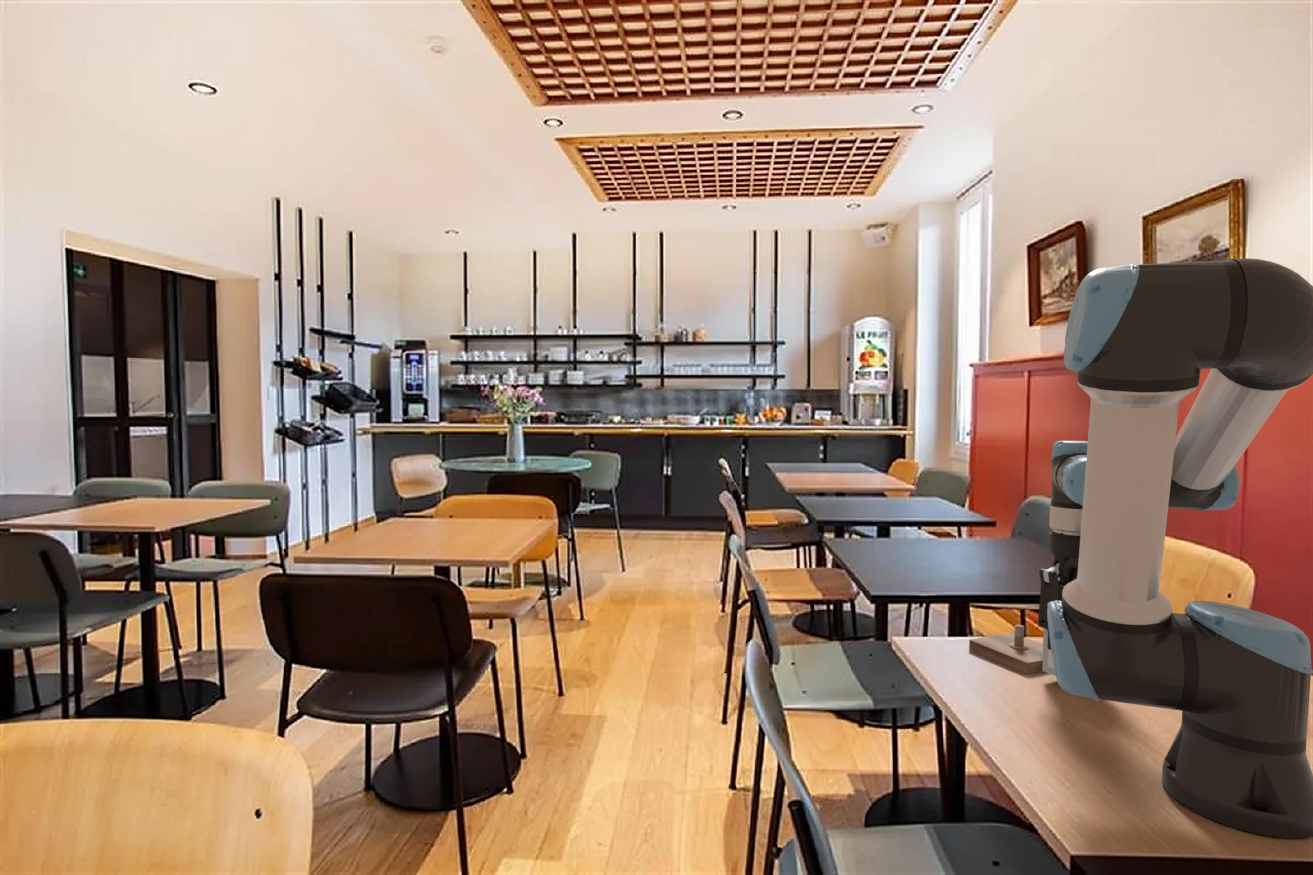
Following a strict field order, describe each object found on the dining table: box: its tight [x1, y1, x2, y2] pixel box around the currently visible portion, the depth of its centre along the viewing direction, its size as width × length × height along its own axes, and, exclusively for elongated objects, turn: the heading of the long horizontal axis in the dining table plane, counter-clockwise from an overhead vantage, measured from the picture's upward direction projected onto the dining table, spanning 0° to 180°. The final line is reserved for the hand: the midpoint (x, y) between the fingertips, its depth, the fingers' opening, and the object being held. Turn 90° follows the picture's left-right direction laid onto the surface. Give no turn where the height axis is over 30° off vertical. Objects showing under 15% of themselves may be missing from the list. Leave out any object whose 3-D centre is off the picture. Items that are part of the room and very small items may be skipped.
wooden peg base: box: [968, 624, 1043, 675], centre depth 134 cm, size 11×13×6 cm
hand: (1070, 666), depth 122 cm, fingers closed on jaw, 6 cm apart
